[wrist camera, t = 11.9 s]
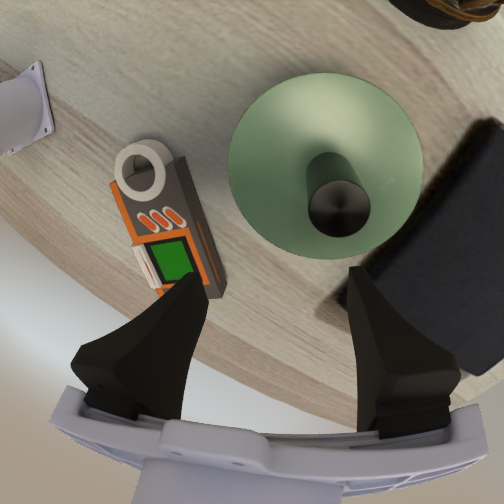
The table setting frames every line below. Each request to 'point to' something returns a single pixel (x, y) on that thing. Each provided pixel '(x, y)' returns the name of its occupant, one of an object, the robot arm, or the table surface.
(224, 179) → the table surface
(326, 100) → the lid
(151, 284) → the electronic device
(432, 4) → the lantern
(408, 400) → the robot arm
